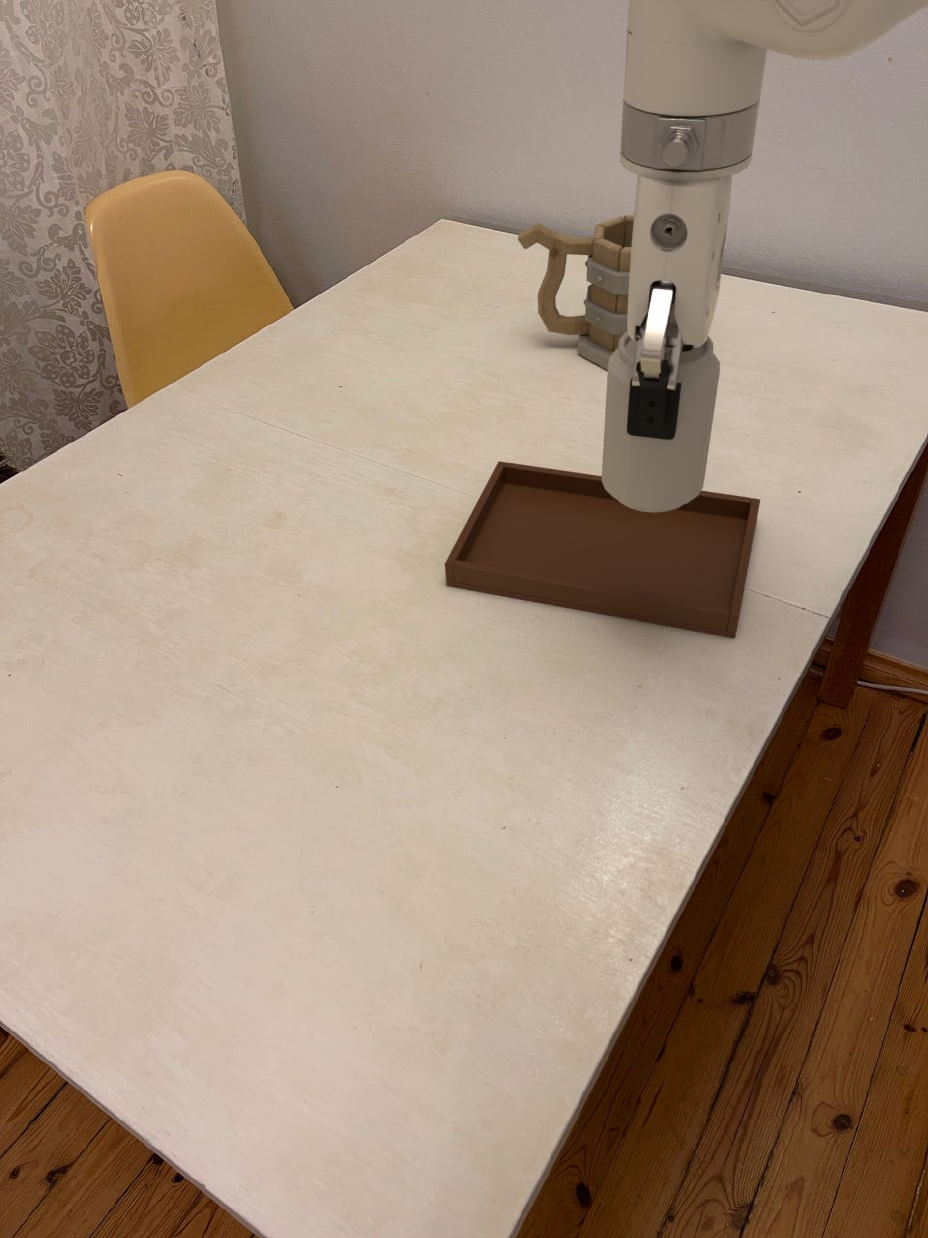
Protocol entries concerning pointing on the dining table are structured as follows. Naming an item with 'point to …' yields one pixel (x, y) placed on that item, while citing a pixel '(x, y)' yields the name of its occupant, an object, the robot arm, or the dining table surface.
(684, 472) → the can
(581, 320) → the tankard
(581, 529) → the tray
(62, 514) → the dining table surface
